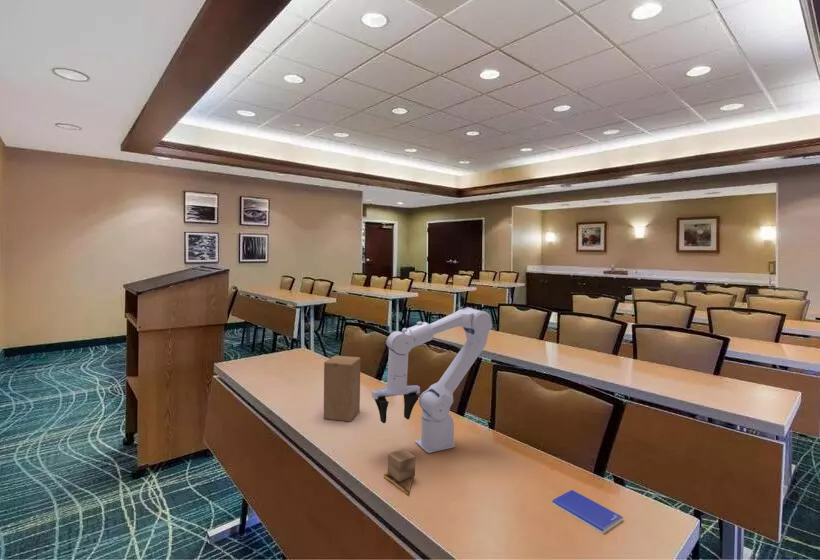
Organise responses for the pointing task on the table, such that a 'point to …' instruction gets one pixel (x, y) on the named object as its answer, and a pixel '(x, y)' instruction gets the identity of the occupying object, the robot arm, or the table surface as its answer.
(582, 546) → the table surface
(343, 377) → the wooden block
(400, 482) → the shard
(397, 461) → the walnut cube
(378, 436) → the table surface
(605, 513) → the hard drive
